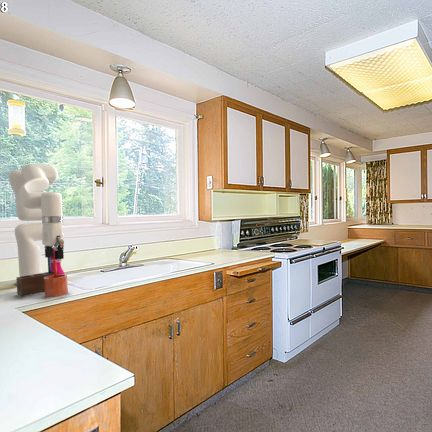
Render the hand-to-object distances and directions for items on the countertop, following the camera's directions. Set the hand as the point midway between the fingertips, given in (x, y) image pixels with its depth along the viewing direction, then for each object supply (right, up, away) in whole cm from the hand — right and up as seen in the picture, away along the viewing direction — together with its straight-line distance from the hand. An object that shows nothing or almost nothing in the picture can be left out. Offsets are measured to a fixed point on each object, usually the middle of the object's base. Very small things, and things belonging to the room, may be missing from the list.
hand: (54, 258), depth 142 cm
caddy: (-11, -17, +6) cm, 21 cm away
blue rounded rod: (-9, -16, +10) cm, 21 cm away
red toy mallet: (+1, -16, 0) cm, 16 cm away
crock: (+1, -17, +1) cm, 17 cm away
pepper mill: (-14, -17, +20) cm, 30 cm away
